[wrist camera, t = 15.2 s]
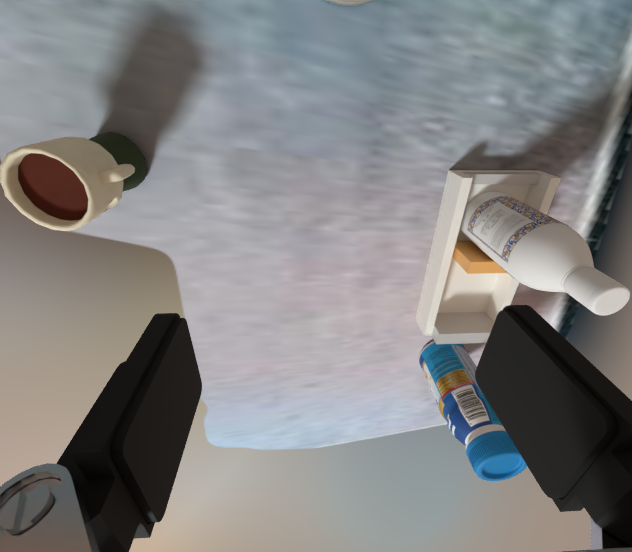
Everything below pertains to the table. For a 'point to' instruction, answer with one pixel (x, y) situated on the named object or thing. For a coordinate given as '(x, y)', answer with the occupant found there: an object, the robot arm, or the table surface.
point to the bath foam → (540, 251)
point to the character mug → (71, 178)
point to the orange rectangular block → (474, 259)
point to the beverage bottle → (469, 412)
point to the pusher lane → (450, 278)
